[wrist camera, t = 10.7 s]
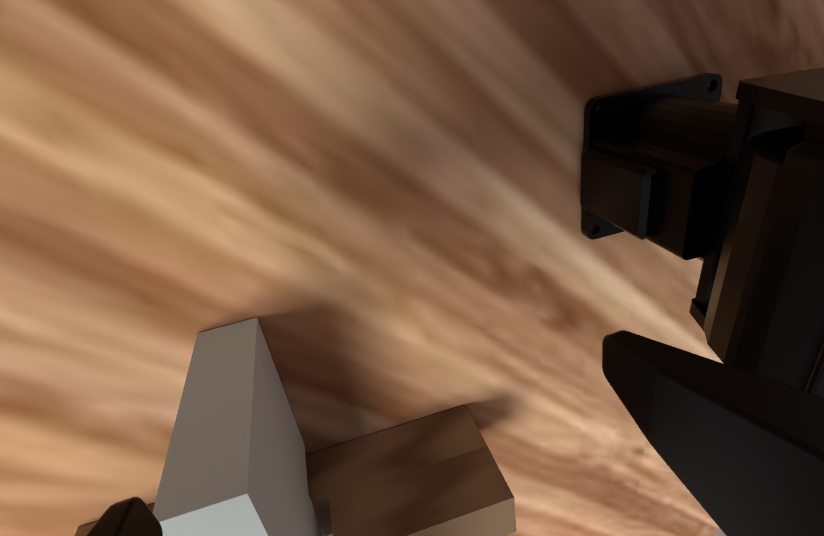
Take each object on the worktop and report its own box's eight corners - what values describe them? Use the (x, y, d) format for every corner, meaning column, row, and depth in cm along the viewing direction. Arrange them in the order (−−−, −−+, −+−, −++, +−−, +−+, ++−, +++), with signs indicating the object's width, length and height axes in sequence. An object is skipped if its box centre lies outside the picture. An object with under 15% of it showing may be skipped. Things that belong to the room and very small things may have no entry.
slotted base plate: (465, 404, 26) (513, 497, 21) (469, 435, 27) (516, 531, 22) (78, 527, 23) (20, 673, 17) (102, 556, 24) (54, 702, 19)
